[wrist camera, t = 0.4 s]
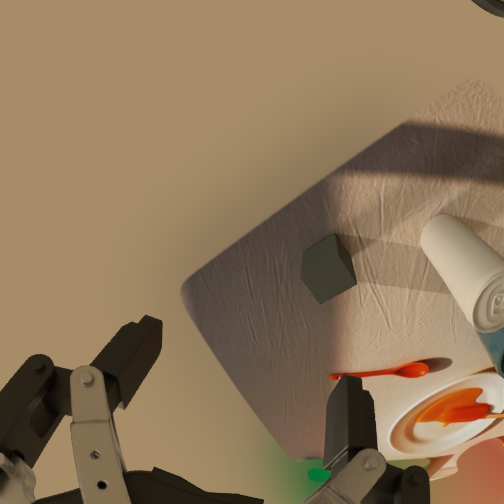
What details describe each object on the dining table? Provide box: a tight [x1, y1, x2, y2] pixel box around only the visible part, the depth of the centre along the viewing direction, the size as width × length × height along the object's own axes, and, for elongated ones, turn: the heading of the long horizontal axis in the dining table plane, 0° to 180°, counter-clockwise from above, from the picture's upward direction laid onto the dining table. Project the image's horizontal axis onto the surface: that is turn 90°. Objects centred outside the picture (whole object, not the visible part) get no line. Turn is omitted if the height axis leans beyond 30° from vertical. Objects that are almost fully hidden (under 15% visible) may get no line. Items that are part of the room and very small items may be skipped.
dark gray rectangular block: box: [300, 233, 357, 304], centre depth 25 cm, size 3×4×5 cm
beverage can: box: [421, 214, 504, 333], centre depth 19 cm, size 5×5×12 cm
